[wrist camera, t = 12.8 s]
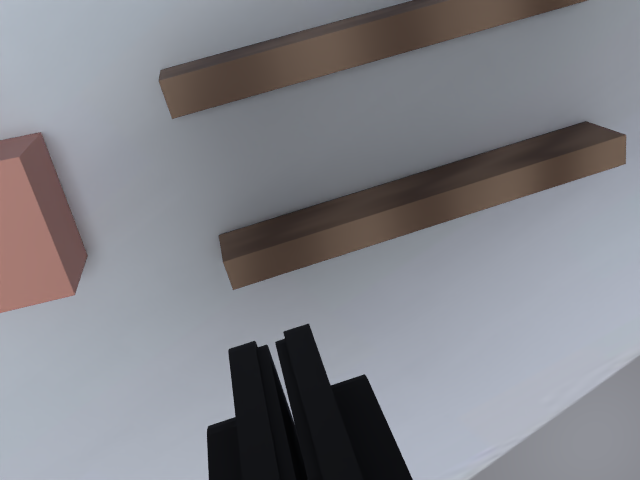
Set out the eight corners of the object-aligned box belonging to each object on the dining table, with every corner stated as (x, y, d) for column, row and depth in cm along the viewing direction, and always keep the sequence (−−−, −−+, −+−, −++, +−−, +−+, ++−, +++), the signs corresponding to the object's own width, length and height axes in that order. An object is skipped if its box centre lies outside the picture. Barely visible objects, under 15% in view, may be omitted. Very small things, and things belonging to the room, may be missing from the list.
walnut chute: (583, -47, 26) (629, -50, 24) (586, 148, 31) (625, 164, 28) (160, 70, 24) (158, 80, 22) (227, 261, 28) (233, 289, 26)
